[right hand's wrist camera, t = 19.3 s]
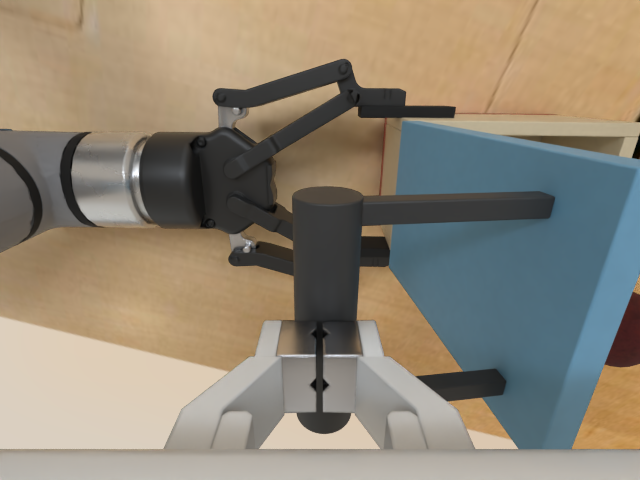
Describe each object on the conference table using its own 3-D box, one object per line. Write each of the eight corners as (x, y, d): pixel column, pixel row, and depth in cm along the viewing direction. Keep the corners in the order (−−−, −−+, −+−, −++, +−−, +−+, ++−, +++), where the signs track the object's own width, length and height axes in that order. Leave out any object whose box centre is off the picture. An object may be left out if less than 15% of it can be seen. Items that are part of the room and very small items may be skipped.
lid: (683, 167, 8) (299, 174, 7) (565, 467, 12) (303, 505, 11) (419, 120, 22) (276, 120, 21) (403, 266, 26) (281, 273, 25)
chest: (551, 114, 32) (644, 122, 22) (525, 221, 35) (595, 267, 26) (385, 112, 32) (408, 119, 23) (377, 219, 36) (394, 262, 26)
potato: (555, 340, 40) (598, 387, 34) (558, 281, 38) (606, 320, 31) (624, 330, 40) (682, 376, 33) (632, 269, 37) (697, 306, 30)
